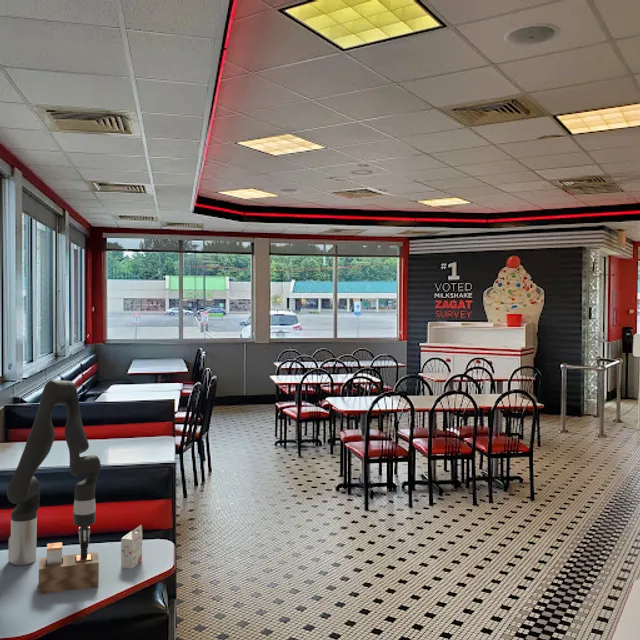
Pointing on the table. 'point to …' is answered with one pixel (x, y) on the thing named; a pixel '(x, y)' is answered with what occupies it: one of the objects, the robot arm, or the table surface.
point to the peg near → (54, 554)
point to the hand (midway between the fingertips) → (83, 557)
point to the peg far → (79, 559)
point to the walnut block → (68, 574)
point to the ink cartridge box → (131, 548)
